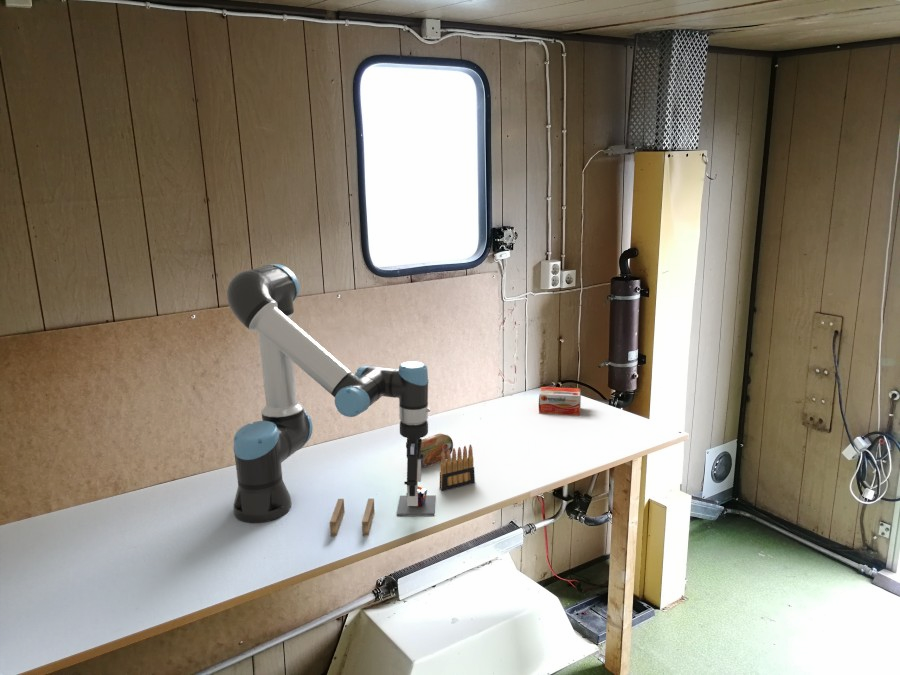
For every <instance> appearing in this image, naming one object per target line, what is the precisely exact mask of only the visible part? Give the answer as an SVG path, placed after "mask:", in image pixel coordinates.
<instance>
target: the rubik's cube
mask: <svg viewBox="0 0 900 675" xmlns="http://www.w3.org/2000/svg"><path fill="white" fill-rule="evenodd" d="M427 493H428V489H426V488H425V487H424V488H423V487H420V486H418V506H409V507H422V506H423V505H424V503H425V500H426V495H428V494H427ZM405 496H407V492H406V494H405Z"/></svg>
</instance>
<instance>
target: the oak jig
mask: <svg viewBox="0 0 900 675" xmlns="http://www.w3.org/2000/svg"><path fill="white" fill-rule="evenodd" d="M345 512H346V511H345V498H338V499H337V501H336V503H335V507H334V510H333V512H332V515H331V517H330V520H329V530H330V531H329V532H330V537H338V534H339V531H340V526H341V525H342V521H343V518H344V515H345ZM374 515H375V499H374V498H368V499H367V502H366V506H365V510H364V513H363V515H362V521H361V529H362V536H363V537H368V536H369V535H370V532H371V529H372V528H371V527H372V523H373V519H374V517H375V516H374Z"/></svg>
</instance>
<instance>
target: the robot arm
mask: <svg viewBox="0 0 900 675" xmlns="http://www.w3.org/2000/svg"><path fill="white" fill-rule="evenodd" d="M299 293H300V283H299V280H298V278H297V276H296V275H295V273H294V271H292V270H291V269H290V268H289V267H287V266H285V265H282V264H279V263H272V264H265V265H264V264H263V265H262V266H259V267H256V268H253V269H248V270H244V271H242V272H239V273H237V274H236V275H234V277H233V278H232V279H231V280H230V281H229V283H228V285H227V289H226V299H227V300H226V301H227V305H228V306H229V308H230V310H231V312H232V313H233V314H234V316H235V317H236V318H237V320H239V322H240V323H242V325H244V326H245V327H246V329H247V328H248V330H249V331H251V332H257V336H258V343H259V352H260V353H259V354H260V361H261V362H260V364H261V370H262V371H261V372H262V379H263V388H264V390H263V391H264V396H265V397H264V398H265V405H264V407H263V408H262V409H261V420H259V421H254V422H252V423H247V424H245V425H243V426H241V427H240V428H239V429H238V430H237V431H236V432H235V434H234V436H233V446H232V448H233V453H234V460H235V468H236V478H237V489H236V492H235V497H234V500H233V501H234V502H233V514H234V517H235V518H236V519H237V520H239V521H242V522H245V523H266V522H270V521H273V520H276V519H279V518H280V517H283V516H284V515H285V514H287V513H288V512H289V511H290V510H291V508H292V498H291V495H290V492H289V491H288V488H287V486H286V484H285V482H284V480H283V470H282V463H284V461H285V460H287V459H289V457H291V456H292V455H294V454H295V453H296V452H298V451H299V450H301V449H302V448H303V447H305V445H306V444H307V443H308V442H309V440H310V439H311V437H312V435H313V430H314V429H313V428H314V427H313V426H314V425H313V421H312V418H311V416H310V415H309V414H308V412H307V411H306V410H305V409H304V405H303V404H302V403H301V402H299V401H298V395H297V384H296V377H295V376H296V375H295V366H294V364H295V365H296V366H298V367H299V368H300V369H301V370H303V372H305V373H306V374H307V375H308V376H309V377H310V378H311V379H313V380H314V381H315V382H316V383H317V384H319V386H320V387H322V388H323V389H324V390H326V392H328V394H331V396H333V397H334V405H335V408H336V410H337V411H338V413H340V415H343V416H344V417H347V418H353V417H357V416H358V415H360V414H362V413H364V412H365V411H367V410H368V409H369V407H371V406H372V405H373V404H375V403H376V402H377V401H379V400H380V399H381V398H382V397H388V398H397V399H398V403H399V405H398V408H399V409H398V411H399V413H398V416H399V417H398V419H399V435H400V436H402V437H403V438H406V442H405V448H406V459H407V462H406V466H407V467H406V481H404V482H403V483H404V485H406V493H407V495H406V496H407V506H418V487H419V485H418V484H419V483H421V481H422V477H421V476H422V467H421V459H423V454H421V444H422V438H425V437H426V436H427V435H428V434H429V421H428V419H429V412H431V409H430V407H429V406H428V405H429V376H428V372H429V371H428V366H427V365H426V364H425V363H424V362H421V361H416V360H413V361H409V360H408V361H404V362H402V363H400V364H399V366H398V368H390V367H382V366H376V365H361V366H359V367H358V368H357V370H356V372H355V373H353V372H352V371H351V370H350V369H349V368H348V367H347V366H346V365H344V364H343V363H342V362H340V361H339V360H338V359H337V358H336V357H335V356H334V355H332V354H331V353H330V352H329V351H328V350H327V349H326V348H325V347H323V346H322V345H321V344H320V343H319V342H317V341H316V340H315V338H313V337H312V336H311V335H309V334H308V332H306V331H304V329H303V328H301V327H300V326H299V325H298V324H297V323H295V322H294V321H293V320H292V319H291V318H292V316H293V315H294V314H295V309H294V308H295V307H294V301H295V300H296V299H297V298H298V295H299Z"/></svg>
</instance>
